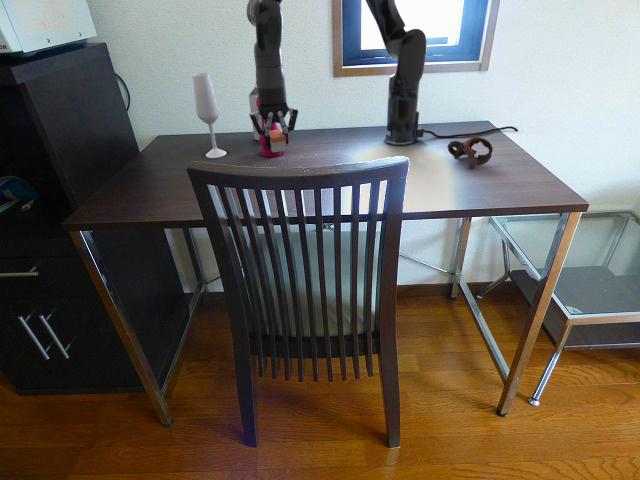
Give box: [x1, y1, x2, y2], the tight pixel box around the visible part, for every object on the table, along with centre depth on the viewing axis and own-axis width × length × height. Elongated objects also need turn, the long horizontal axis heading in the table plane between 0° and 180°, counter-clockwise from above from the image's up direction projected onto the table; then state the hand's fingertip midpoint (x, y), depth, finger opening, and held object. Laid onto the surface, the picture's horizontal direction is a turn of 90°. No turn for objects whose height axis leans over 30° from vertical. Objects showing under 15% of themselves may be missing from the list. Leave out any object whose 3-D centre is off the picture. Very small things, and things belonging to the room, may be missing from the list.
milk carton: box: [248, 82, 283, 141], centre depth 130 cm, size 7×7×19 cm
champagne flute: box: [191, 72, 228, 159], centre depth 118 cm, size 7×7×24 cm
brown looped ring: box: [447, 136, 494, 169], centre depth 109 cm, size 12×10×8 cm
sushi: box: [269, 129, 287, 152], centre depth 111 cm, size 4×7×4 cm, turn 18°
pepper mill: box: [256, 97, 283, 158], centre depth 117 cm, size 7×7×20 cm
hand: (277, 146), depth 112 cm, fingers closed on sushi, 4 cm apart
